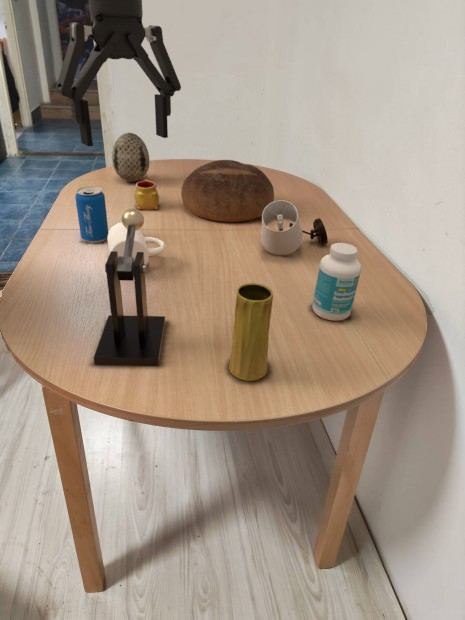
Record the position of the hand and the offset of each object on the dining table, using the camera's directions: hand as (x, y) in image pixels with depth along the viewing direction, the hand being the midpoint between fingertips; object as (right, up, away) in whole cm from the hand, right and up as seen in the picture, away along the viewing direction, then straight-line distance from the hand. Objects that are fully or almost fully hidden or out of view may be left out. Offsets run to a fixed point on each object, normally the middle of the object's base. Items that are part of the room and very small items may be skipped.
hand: (126, 140), depth 76 cm
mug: (-3, -18, +25) cm, 31 cm away
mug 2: (-7, +3, +57) cm, 57 cm away
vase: (+20, -38, -3) cm, 43 cm away
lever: (+1, -19, -3) cm, 19 cm away
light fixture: (+33, -14, +34) cm, 49 cm away
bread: (+16, +2, +57) cm, 59 cm away
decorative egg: (-15, +14, +74) cm, 76 cm away
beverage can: (-16, -11, +35) cm, 40 cm away
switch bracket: (+1, -34, +1) cm, 34 cm away
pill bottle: (+37, -29, +12) cm, 48 cm away
